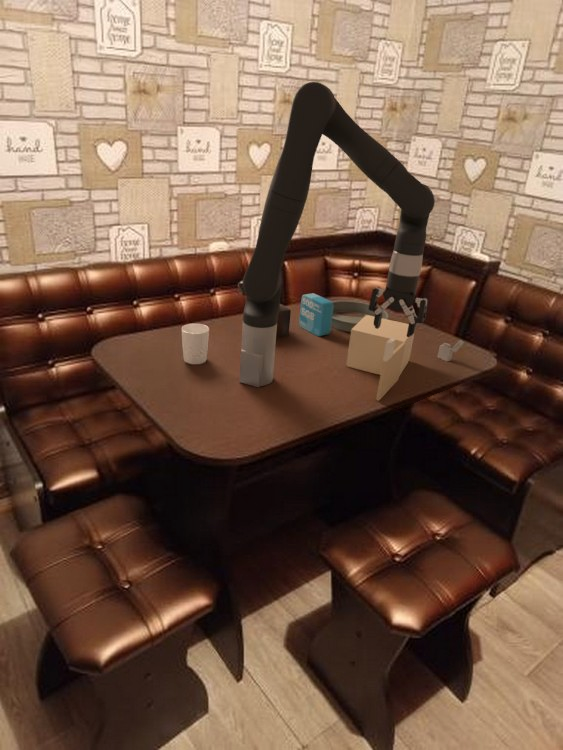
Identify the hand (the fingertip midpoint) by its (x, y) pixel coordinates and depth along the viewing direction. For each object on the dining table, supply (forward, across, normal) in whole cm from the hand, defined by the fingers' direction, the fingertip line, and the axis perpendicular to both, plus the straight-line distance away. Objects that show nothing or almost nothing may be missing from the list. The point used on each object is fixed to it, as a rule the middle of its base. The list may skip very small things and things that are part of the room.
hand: (392, 331), depth 139 cm
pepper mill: (+20, +49, -18) cm, 56 cm away
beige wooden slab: (+19, 0, -5) cm, 20 cm away
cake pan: (+20, +29, -50) cm, 61 cm away
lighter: (+20, -9, -38) cm, 44 cm away
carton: (+20, +8, -21) cm, 30 cm away
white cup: (+20, +54, +13) cm, 59 cm away
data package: (+20, +37, -32) cm, 53 cm away
